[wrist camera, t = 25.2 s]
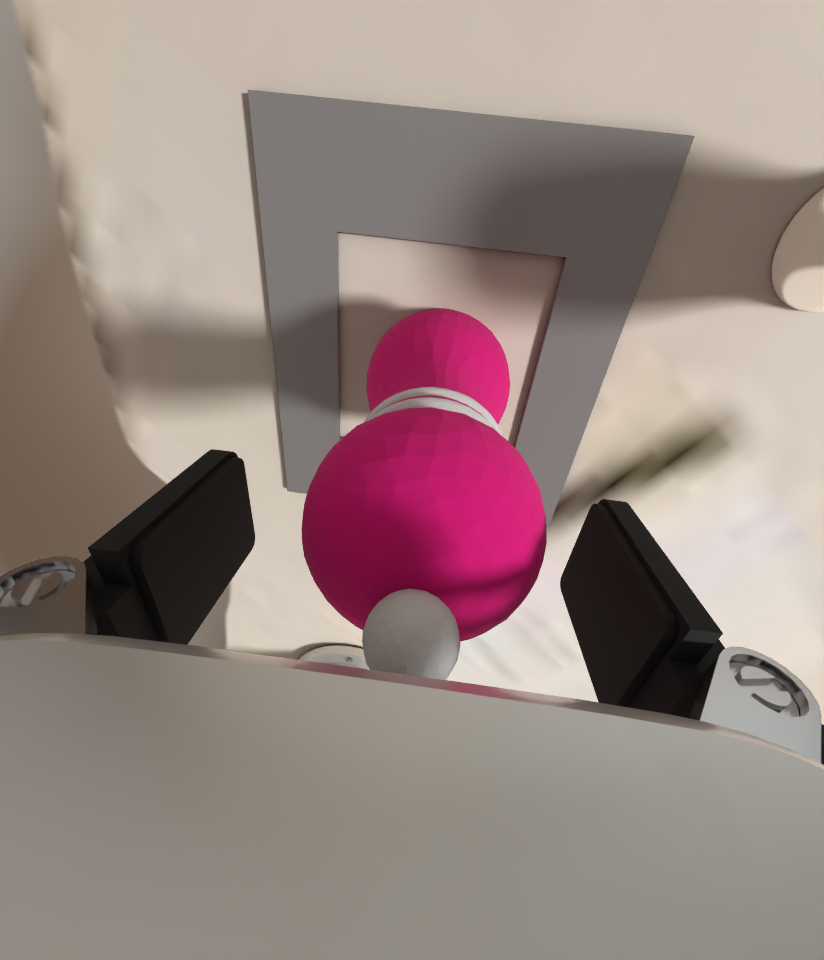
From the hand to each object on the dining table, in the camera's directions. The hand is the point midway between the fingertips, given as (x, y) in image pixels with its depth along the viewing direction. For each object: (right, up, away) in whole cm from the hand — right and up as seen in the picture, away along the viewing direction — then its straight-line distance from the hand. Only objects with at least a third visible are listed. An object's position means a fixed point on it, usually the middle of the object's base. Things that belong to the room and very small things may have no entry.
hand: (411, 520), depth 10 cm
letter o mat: (+1, +8, +13) cm, 15 cm away
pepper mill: (+2, +8, +13) cm, 16 cm away
